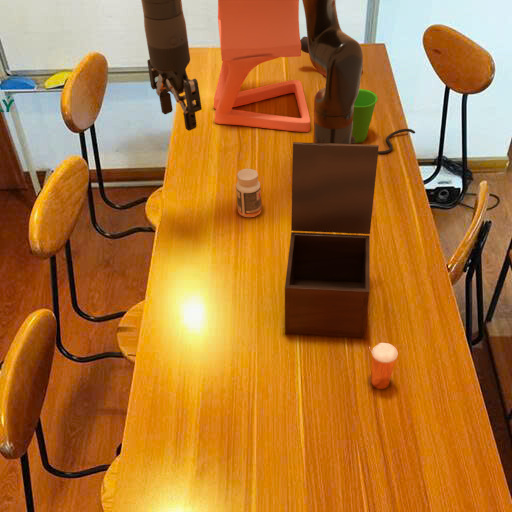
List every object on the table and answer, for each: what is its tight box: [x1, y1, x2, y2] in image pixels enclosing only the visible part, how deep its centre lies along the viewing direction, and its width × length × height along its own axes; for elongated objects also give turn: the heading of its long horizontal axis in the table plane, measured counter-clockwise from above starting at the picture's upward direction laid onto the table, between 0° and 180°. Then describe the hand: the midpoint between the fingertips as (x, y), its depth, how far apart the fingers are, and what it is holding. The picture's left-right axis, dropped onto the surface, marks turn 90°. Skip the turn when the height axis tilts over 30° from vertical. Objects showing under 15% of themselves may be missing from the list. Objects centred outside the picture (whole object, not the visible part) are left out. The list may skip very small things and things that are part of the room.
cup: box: [352, 88, 379, 144], centre depth 178 cm, size 9×9×11 cm
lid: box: [290, 141, 380, 235], centre depth 131 cm, size 17×16×1 cm
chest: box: [284, 231, 371, 340], centre depth 137 cm, size 17×16×12 cm
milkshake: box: [368, 342, 399, 390], centre depth 124 cm, size 4×5×10 cm
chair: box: [213, 0, 311, 133], centre depth 178 cm, size 24×26×35 cm
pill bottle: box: [235, 168, 263, 218], centre depth 159 cm, size 6×6×10 cm
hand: (179, 120), depth 139 cm, fingers open, 8 cm apart
